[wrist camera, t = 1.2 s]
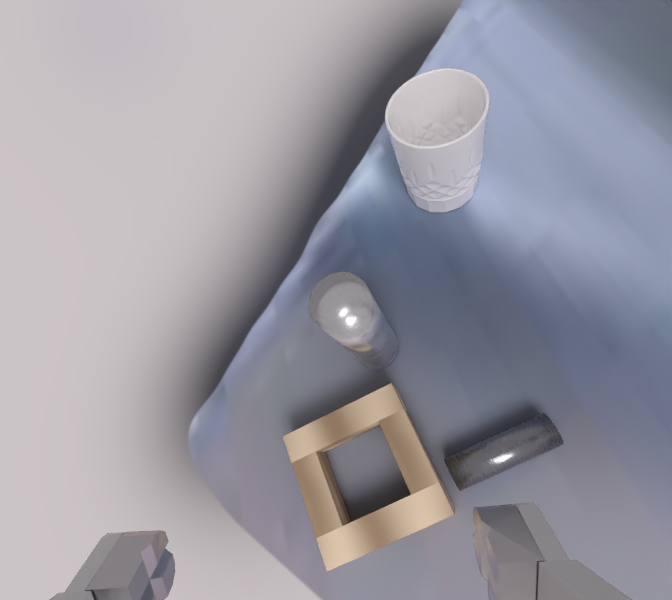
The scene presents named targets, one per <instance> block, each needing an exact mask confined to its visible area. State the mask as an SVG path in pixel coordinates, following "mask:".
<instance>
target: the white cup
mask: <svg viewBox="0 0 672 600" xmlns="http://www.w3.org/2000/svg"><path fill="white" fill-rule="evenodd" d="M488 109H489V93H488V90H487V88H486V86H485V84H484V83H483V82H482V81H481V80H480V79H479V78H478V77H477V76H475V75H474V74H472V73H470V72H467V71H464V70H460V69H454V68H443V69H435V70H431V71H427V72H424V73H422V74H419V75H417V76H415V77H413V78H411V79H410V80H408V81H407V82H405V83H404V84H403V85H402V86H401V87H399V88H398V90H396V92H395V93H394V94H393V95H392V97H391V99H390V100H389V102H388V105H387V107H386V112H385V122H386V126H387V130H388V133H389V136H390V139H391V142H392V146H393V149H394V152H395V156H396V159H397V162H398V165H399V168H400V171H401V174H402V177H403V179H404V182H405V184H406V187H407V190H408V194H409V196H410V198H411V199H412V200H413V202H414V203H415V204H416V206H418V207H420V208H422V209H424V210H426V211H428V212H442V213H446V212H449V211H451V210H454V209H457V208H460V207H462V206H463V205H464V204H465V203H466V202H467V201H468V200H469V199H470V198H472V197H473V195H474V192H475V190H476V187H477V185H478V180H479V171H480V168H481V163H482V155H483V150H484V142H485V133H486V125H487V117H488Z"/></svg>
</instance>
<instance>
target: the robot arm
mask: <svg viewBox="0 0 672 600" xmlns="http://www.w3.org/2000/svg"><path fill="white" fill-rule="evenodd" d="M473 521H474V524H475V526H476V529H477V530H476V531H475V532H474V533H473V536H474V548H475V554H476V559H477V563H478V566H479V570H480V573H481V576H482V577H483V578H484V579H485V580H486V581H487V582H488V596H489V599H490V600H632V599H631V598H630V597H628V596H627V595H625V594H624V593H623V592H621V591H620V590H618V589H617V588H615V587H614V586H613V585H611V584H610V583H608V582H607V581H606V580H604V579H603V578H601V577H600V576H598V575H597V574H596V573H594V572H593V571H591V570H590V569H589V568H587V567H586V566H584V565H583V564H581V563H580V562H579V561H577V560H569V558H568V556H567V554H566V553H565V551H564V549H563V548H562V546H561V544H560V543H559V541H558V539H557V538H556V536H555V534H554V532H553V531H552V529H551V527H550V526H549V524H548V522H547V521H546V519H545V517H544V515H543V514H542V512H541V510H540V509H539V507H538V505H536V504H535V503H534V502H533V503H521V504H514V505H512V504H509V505H497V506H485V507H474V509H473ZM167 543H168V539H167V536H166V533H165V532H164V531H139V532H125V533H108V534H106V535H105V536H103V537H102V538H101V539H100V541H99V542H98V544H97V545H96V547H95V548H94V550H93V551H92V553H91V554H90V556H89V557H88V558H87V560H86V561H85V563H84V564H83V566H82V567H81V569H80V570H79V572H78V573H77V575H76V576H75V577H74V579H73V580H72V582H71V583H70V585H69V586H68V588H67V589H66V591H65V592H64V593H58V594H56V595H55V596H54V597H52V598H51V599H50V600H164V599H165V598H166V597H167V596H168V594H169V592H170V589H171V587H172V585H173V580H174V573H175V562H174V558H173V555H172V553H170V552H169V551H168V550H167V549H165V547H166V545H167Z"/></svg>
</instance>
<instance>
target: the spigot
mask: <svg viewBox="0 0 672 600" xmlns="http://www.w3.org/2000/svg"><path fill="white" fill-rule="evenodd" d="M309 309H310V313H311V316H312V318H313V320H314V321H315V322H316V323H317V324H318V325H319V326H320V327H321V328H322V329H323V330H324V331H326V332H327V333H328V334H329V335H330V336H331V337H332V338H333V339H334V340H336V341H337V342H338V343H339V344H340V345H341V346H342V347H343V348H344V349H346V350H347V351H348V352H349V353H350V354H351V355H352V356H353V357H354V358H356V359H357V360H358V361H359V362H360V363H361V364H362V365H364V366H365V367H367V368H370V369H383V368H385V367H387V366H389V365H390V364H391V363H392V362H393V361H394V360H395V359H396V357H397V354H398V350H399V344H398V340H397V337H396V336H395V334H394V332H393V330H392V329H391V327H390V325H389V324H388V322H387V320H386V318H385V317H384V315H383V313H382V311H381V310H380V308H379V306H378V304H377V303H376V301H375V299H374V298H373V296H372V294H371V292H370V291H369V289H368V287H367V286H366V284H365V282H364V281H363V280H362V279H361V278H360V277H358V276H357V275H355V274H352V273H348V272H337V273H333V274H330V275H328V276H326V277H324V278H323V279H322V280H320V281H319V282H318V283H317V285H316V286H315V287H314V289H313V291H312V293H311V296H310V300H309Z"/></svg>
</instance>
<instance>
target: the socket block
mask: <svg viewBox="0 0 672 600" xmlns="http://www.w3.org/2000/svg"><path fill="white" fill-rule="evenodd" d="M378 426H381V428H382V430H383V433H384V435H385V437H386V439H387V442H388V444H389V446H390V448H391V451H392V453H393V455H394V457H395V460H396V462H397V464H398V466H399V469H400V471H401V473H402V475H403V478H404V480H405V482H406V484H407V486H408V489H409V491H410V493H411V494H410V495H408V496H406V497H404V498H401V499H399V500H397V501H395V502H393V503H390V504H388V505H386V506H384V507H382V508H380V509H377V510H375V511H373V512H371V513H369V514H366V515H364V516H362V517H360V518H358V519H356V520H353V521H351V520H350V517H349V514H348V511H347V509H346V506H345V503H344V501H343V498H342V495H341V493H340V490H339V487H338V484H337V482H336V479H335V476H334V474H333V471H332V468H331V466H330V463H329V460H328V457H327V455H326V451H328V450H330V449H332V448H334V447H336V446H338V445H341V444H343V443H345V442H347V441H349V440H351V439H353V438H355V437H357V436H359V435H361V434H363V433H365V432H368V431H370V430H372V429H374V428H376V427H378ZM283 439H284V442H285V445H286V448H287V451H288V454H289V457H290V460H291V463H292V466H293V469H294V472H295V475H296V478H297V481H298V484H299V487H300V490H301V493H302V496H303V500H304V503H305V506H306V509H307V512H308V515H309V518H310V521H311V524H312V527H313V530H314V533H315V536H316V539H317V542H318V545H319V548H320V551H321V554H322V557H323V560H324V564H325V567H326V570H327V571H329V570H331V569H334V568H336V567H338V566H340V565H343V564H345V563H347V562H349V561H352V560H354V559H356V558H358V557H361V556H363V555H365V554H367V553H370V552H372V551H374V550H376V549H379V548H381V547H383V546H385V545H387V544H390V543H392V542H394V541H396V540H399V539H401V538H403V537H405V536H408V535H410V534H412V533H414V532H417V531H419V530H421V529H423V528H426V527H428V526H430V525H432V524H435V523H437V522H439V521H441V520H444V519H446V518H448V517H450V516H452V515H455V508H454V506H453V504H452V502H451V500H450V498H449V496H448V494H447V492H446V490H445V488H444V486H443V484H442V481H441V479H440V477H439V475H438V473H437V471H436V469H435V467H434V465H433V463H432V461H431V459H430V457H429V455H428V453H427V451H426V448H425V446H424V444H423V442H422V440H421V438H420V436H419V434H418V432H417V430H416V428H415V426H414V424H413V422H412V420H411V417H410V415H409V413H408V411H407V409H406V407H405V405H404V403H403V401H402V399H401V397H400V395H399V393H398V391H397V389H396V387H395V386H394V385H393V384H392V383H390V384H388V385H386V386H384V387H382V388H380V389H378V390H376V391H374V392H372V393H370V394H368V395H366V396H364V397H362V398H360V399H358V400H356V401H354V402H352V403H350V404H348V405H346V406H344V407H342V408H340V409H338V410H336V411H333V412H331V413H329V414H327V415H325V416H323V417H321V418H319V419H317V420H315V421H313V422H311V423H309V424H307V425H305V426H303V427H301V428H299V429H297V430H295V431H293V432H291V433H289V434H287V435H285V436H283Z"/></svg>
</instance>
